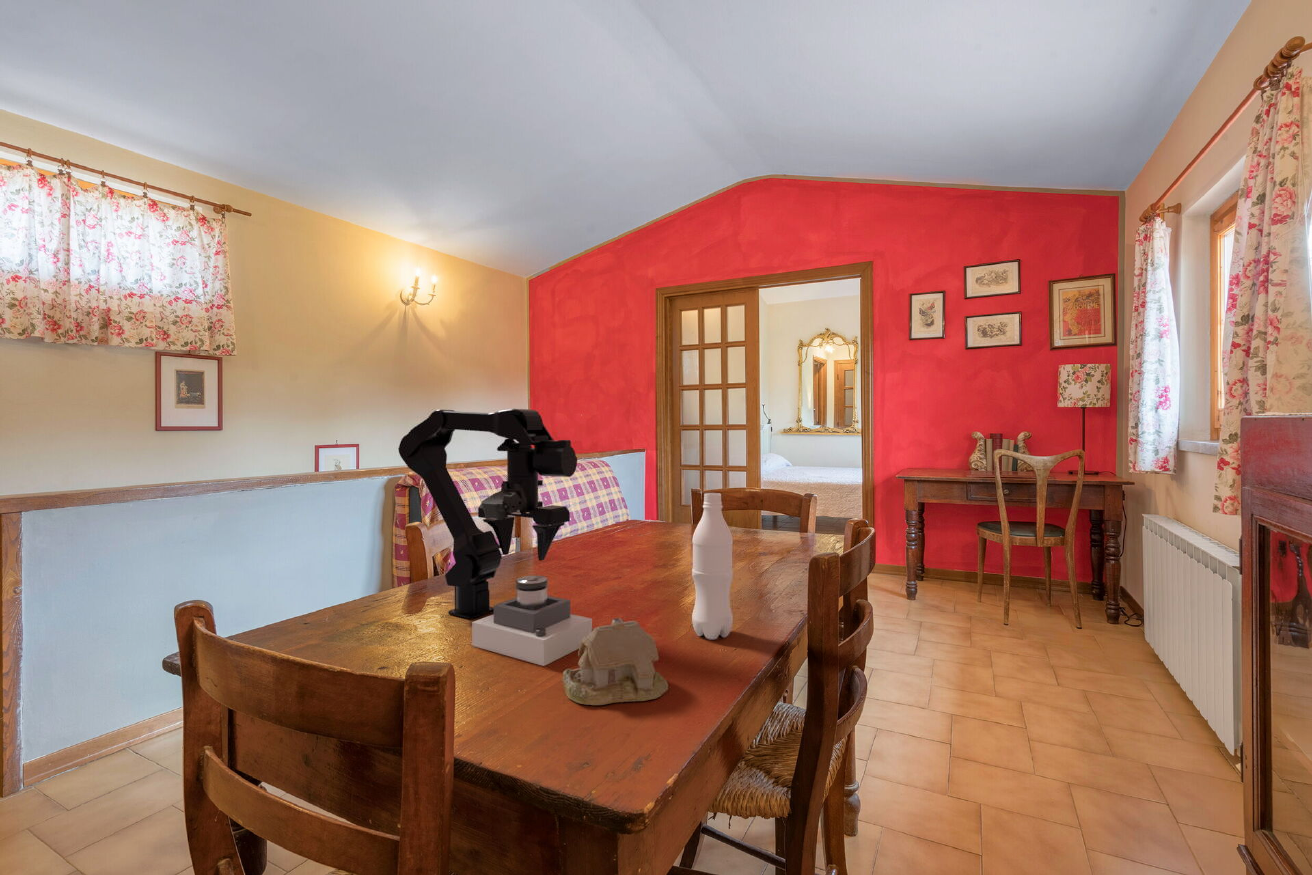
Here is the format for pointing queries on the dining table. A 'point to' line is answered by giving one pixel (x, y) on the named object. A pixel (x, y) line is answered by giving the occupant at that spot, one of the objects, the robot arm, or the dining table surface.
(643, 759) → the dining table surface
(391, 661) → the dining table surface
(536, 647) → the tray on white base
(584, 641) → the ceramic model
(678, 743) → the dining table surface
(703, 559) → the water bottle
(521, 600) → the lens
